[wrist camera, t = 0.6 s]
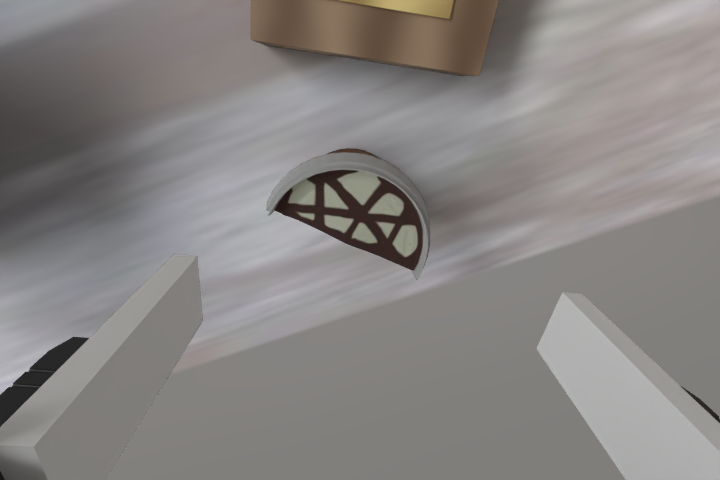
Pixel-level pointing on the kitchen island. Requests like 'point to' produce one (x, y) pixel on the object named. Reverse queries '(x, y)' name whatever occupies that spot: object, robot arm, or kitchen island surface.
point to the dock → (382, 30)
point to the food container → (358, 205)
